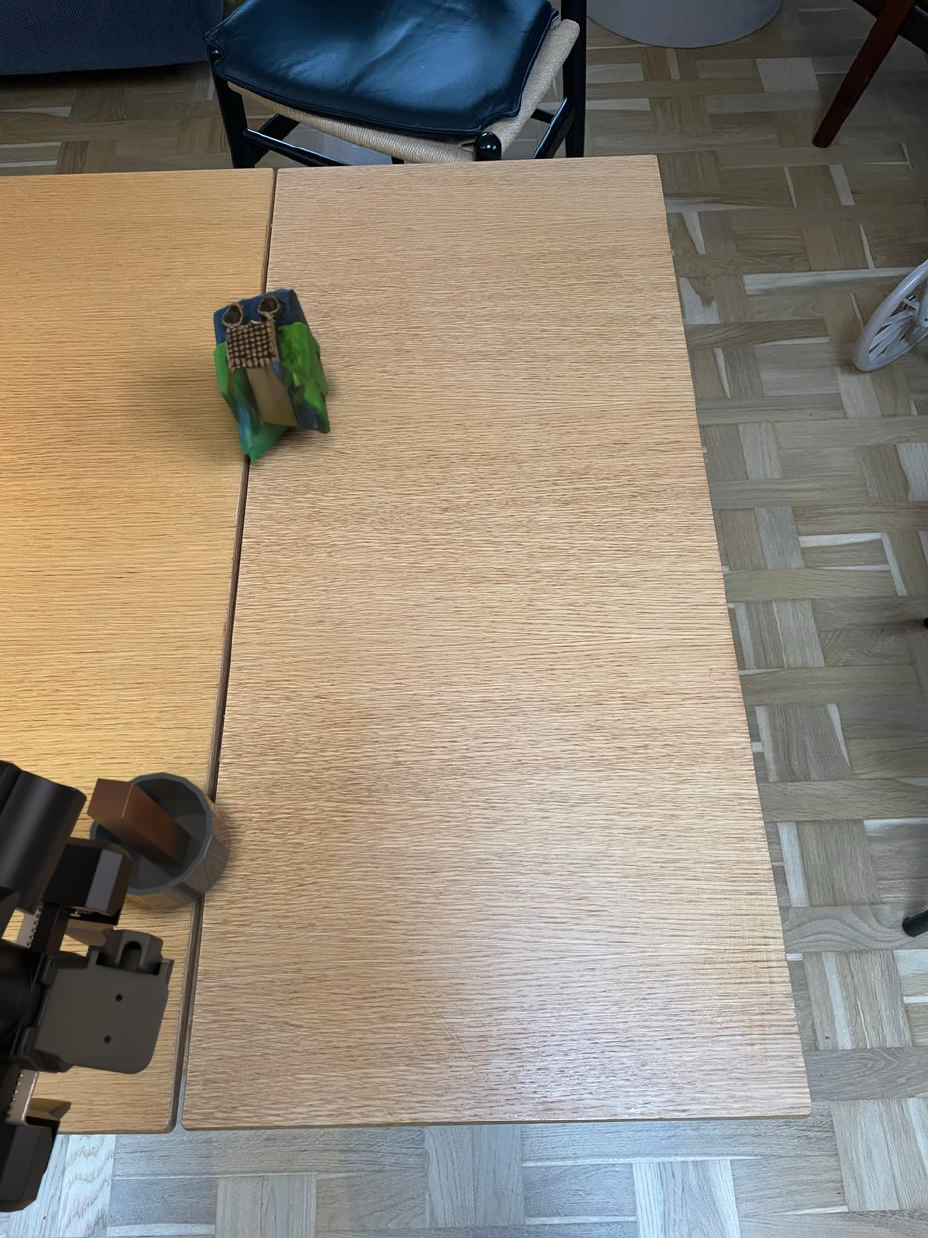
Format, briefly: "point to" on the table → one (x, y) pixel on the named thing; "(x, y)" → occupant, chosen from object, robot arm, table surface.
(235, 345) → the sculpture
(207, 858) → the cup
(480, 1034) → the table surface
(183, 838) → the brown rectangular bar
